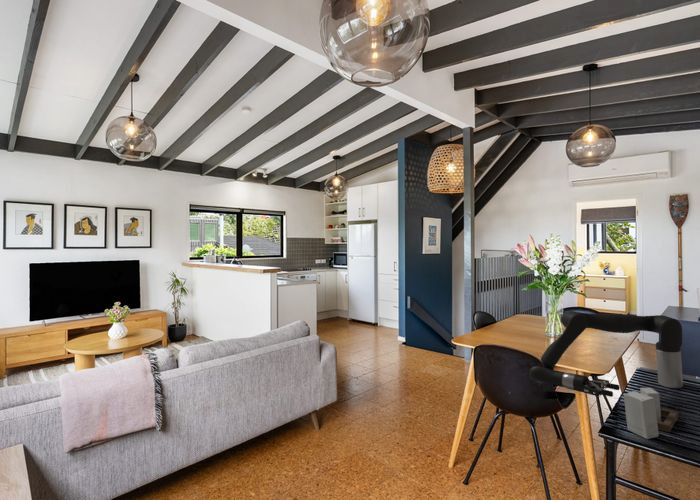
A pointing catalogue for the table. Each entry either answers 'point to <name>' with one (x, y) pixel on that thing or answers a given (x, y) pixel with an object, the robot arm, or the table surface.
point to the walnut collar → (667, 419)
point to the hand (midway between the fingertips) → (616, 390)
